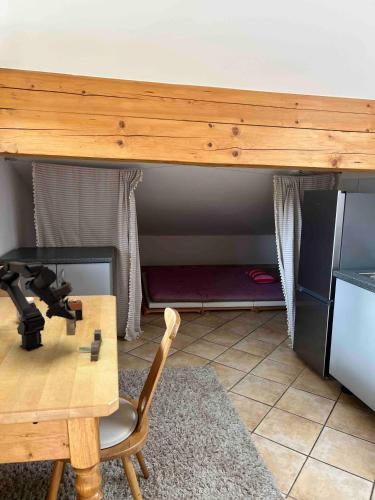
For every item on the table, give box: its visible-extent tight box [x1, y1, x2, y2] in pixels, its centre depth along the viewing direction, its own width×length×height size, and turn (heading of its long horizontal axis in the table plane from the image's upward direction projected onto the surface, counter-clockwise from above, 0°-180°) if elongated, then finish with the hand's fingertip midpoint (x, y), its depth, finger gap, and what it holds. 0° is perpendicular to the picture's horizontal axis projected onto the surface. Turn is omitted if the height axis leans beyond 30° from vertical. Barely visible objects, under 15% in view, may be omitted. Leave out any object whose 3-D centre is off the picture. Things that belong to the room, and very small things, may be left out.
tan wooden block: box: [65, 311, 77, 337], centre depth 133 cm, size 3×3×9 cm
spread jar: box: [15, 296, 46, 325], centre depth 163 cm, size 12×11×12 cm
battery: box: [68, 299, 83, 322], centre depth 168 cm, size 4×7×10 cm, turn 116°
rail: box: [77, 328, 102, 362], centre depth 136 cm, size 20×8×5 cm, turn 10°
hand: (74, 317), depth 133 cm, fingers closed on tan wooden block, 3 cm apart
